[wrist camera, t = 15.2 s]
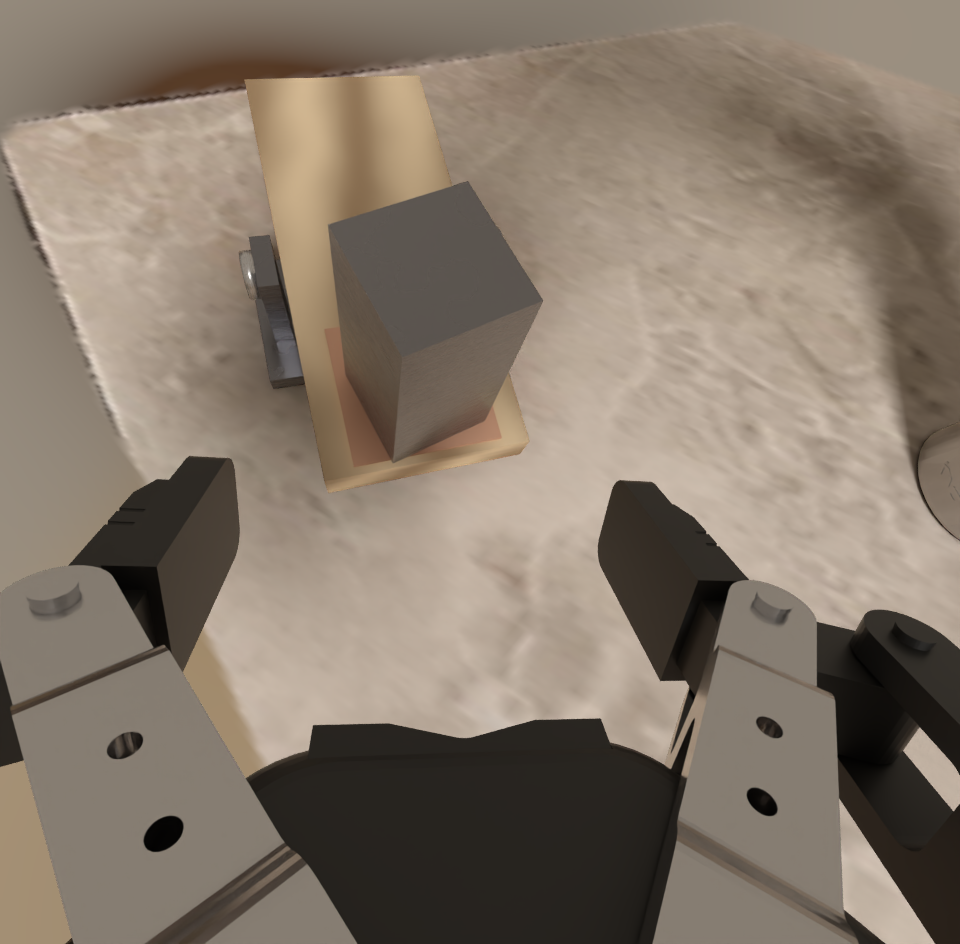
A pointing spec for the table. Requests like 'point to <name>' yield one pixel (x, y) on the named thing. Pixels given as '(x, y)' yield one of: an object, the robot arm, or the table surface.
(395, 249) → the block
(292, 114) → the seesaw plank
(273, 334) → the seesaw stand
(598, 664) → the table surface
